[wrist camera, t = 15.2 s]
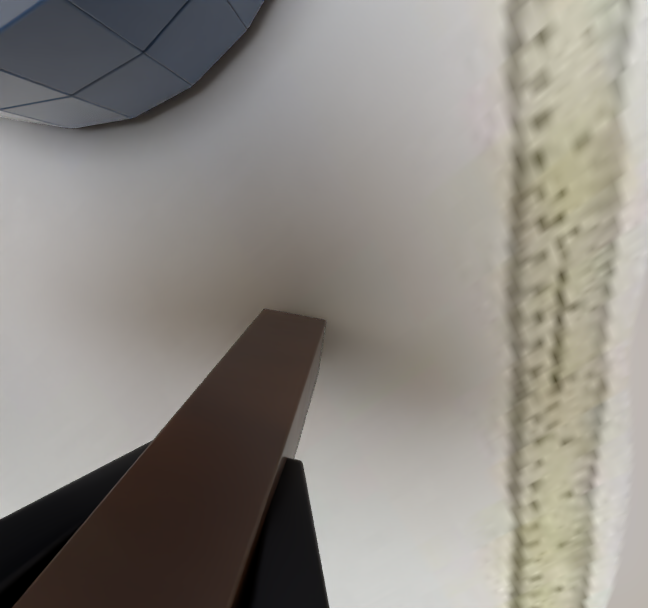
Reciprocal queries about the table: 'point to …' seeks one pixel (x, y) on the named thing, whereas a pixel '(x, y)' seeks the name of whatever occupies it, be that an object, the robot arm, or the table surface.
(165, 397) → the table surface
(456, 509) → the table surface
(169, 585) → the dark brown bar
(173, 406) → the table surface
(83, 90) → the bowl
